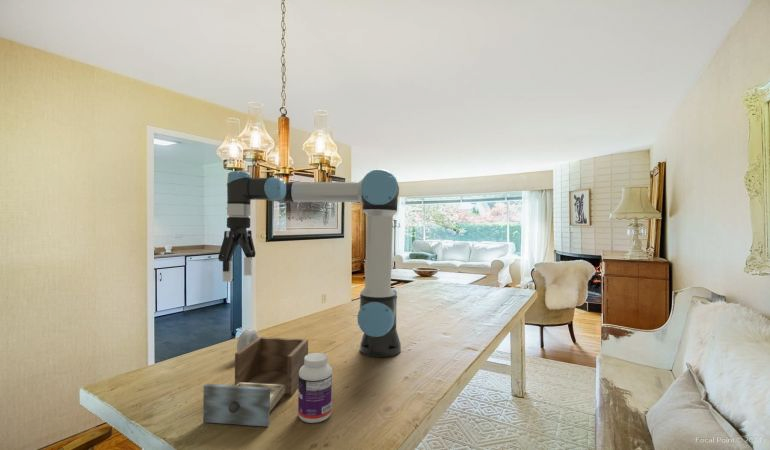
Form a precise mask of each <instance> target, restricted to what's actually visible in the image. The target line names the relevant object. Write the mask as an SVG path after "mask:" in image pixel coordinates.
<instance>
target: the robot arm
mask: <svg viewBox="0 0 770 450" xmlns="http://www.w3.org/2000/svg"><path fill="white" fill-rule="evenodd" d="M226 181H227V182H226V188H227V189H226V194H227V195H226V197H227V199H226V201H227V202H226V204H227V205H226V206H227V207H226V215H227V216H228V217H227V218H226V227H227V228H228V229H230V230H225V231H224V233H223V239H222V243H221V246H220V250H219V254H218V257H217V259H218V261H219V262H222V282H233V281H232V280H233V261H232V257H233V255H234V253H235V251H236V248H237V247H238V246H239V245H240V247H241V249H242V251H243V254H244V256H245V257H243V275H244V276H249V277H250V276H253V258H255V257H256V249H255V245H254V240H253V237H252V230H249V229H250V228H251V218H250V216H251V211H252V209H251V208H252V207H251V201H253V200H254V201H255V200H257V201H258V200H260V201H261V200H262V201H271V202H277V203H281V204H288V203H360V204H361V205H362V212H363V213H364V214H365V215H366V235H365V240H366V241H365V268H364V269H365V270H364V271H365V272H364V273H365V275H364V277H365V278H364V288H363V289H362V290H361V291H360V296H359V309H358V312H357V313H358V314H357V324H358V327H359V329H360V330H361V331H362V332H363V334H362V338H361V341H360V342H359V343H360V345H359V347H360V348H359V350H360V352H361V353H362V354H363V355H365V356H368V357H373V358H390V357H393V356H396V355H398V354H400V353H401V347H402V345H401V341H400V337H399V334H398V330H397V312H398V311H397V309H398V308H397V304H398V303H397V299H398V296H397V295H398V294H397V293H398V292H397V290H396V289H395V288H392V255H393V254H392V252H393V251H392V249H393V217H394V216H395V214H396V213H398V201H399V198H398V197H399V196H400V195H399V194H400V187H399V184H398V179H397V177H395V175H394V174H393V173H392V172H390V171H389V170H387V169H382V168H380V169H379V168H376V169H373V170H370V171H369V172H368V173H366V174H365V175H364V177H363V178H362V179H361V180H360V181H311V182H310V181H309V182H307V181H303V182H302V181H300V182H299V181H293V182H292V181H288V182H286V181H285V180H284V179H283V178H281V177H252V175H251V173H250V172H247V171H240V170H239V171H238V170H236V171H235V170H233V171H230V172H228V174H227V180H226ZM247 229H248V230H247Z"/></svg>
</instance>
